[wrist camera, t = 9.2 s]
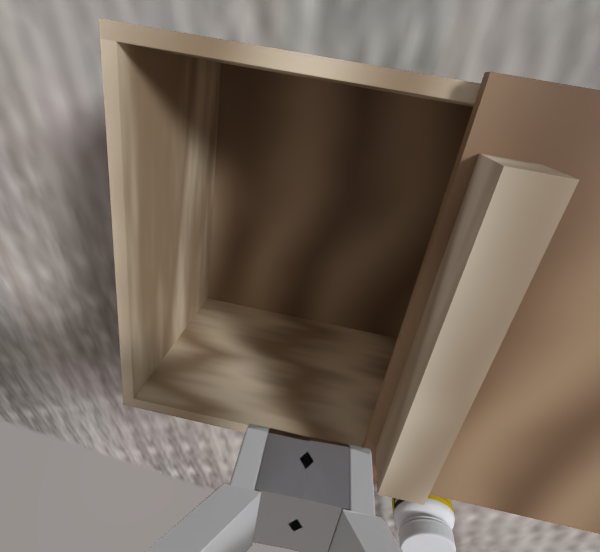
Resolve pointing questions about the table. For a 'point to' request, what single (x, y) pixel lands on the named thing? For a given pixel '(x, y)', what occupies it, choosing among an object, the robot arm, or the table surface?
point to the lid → (505, 319)
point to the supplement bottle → (425, 525)
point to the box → (268, 224)
